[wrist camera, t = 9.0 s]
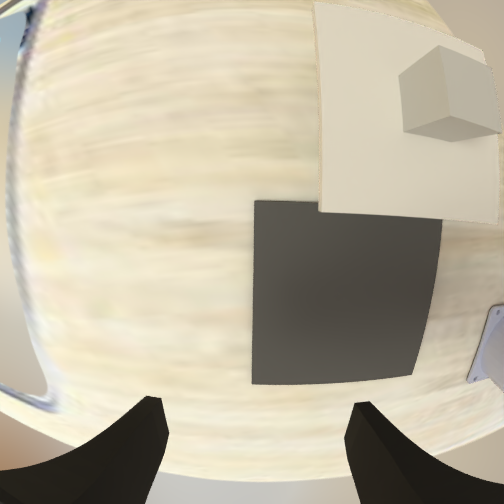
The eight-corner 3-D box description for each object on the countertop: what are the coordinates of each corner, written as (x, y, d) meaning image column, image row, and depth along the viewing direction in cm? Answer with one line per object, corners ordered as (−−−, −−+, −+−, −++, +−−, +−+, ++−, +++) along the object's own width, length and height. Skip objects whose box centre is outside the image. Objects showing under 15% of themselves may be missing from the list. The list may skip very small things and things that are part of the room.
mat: (440, 211, 17) (442, 212, 17) (409, 372, 20) (411, 374, 19) (254, 201, 18) (254, 201, 17) (252, 381, 20) (251, 384, 20)
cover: (475, 53, 10) (520, 31, 6) (489, 222, 13) (545, 236, 8) (311, 9, 11) (327, -47, 6) (318, 210, 13) (347, 222, 8)
